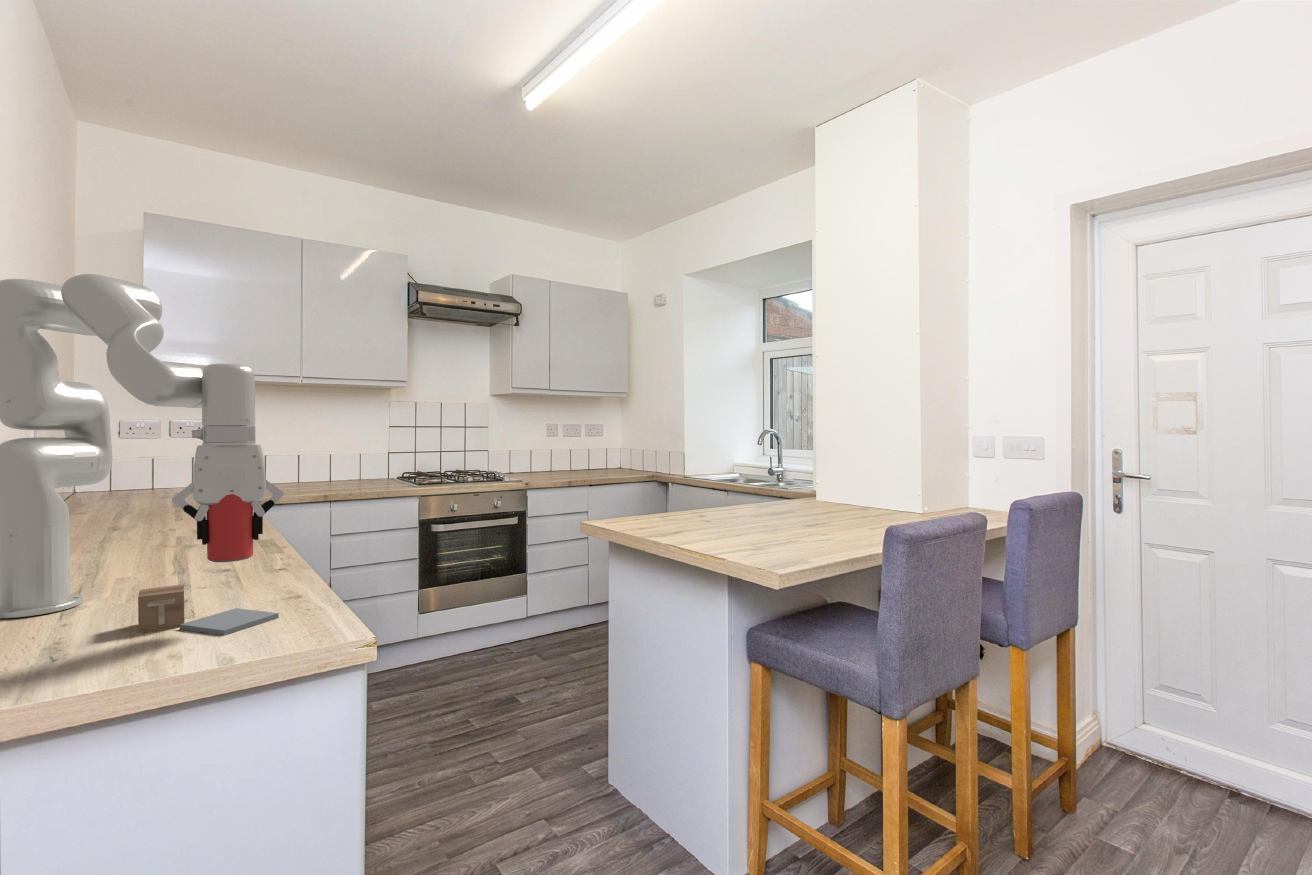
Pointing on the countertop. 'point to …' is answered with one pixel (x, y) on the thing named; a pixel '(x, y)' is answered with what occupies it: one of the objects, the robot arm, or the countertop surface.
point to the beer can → (230, 530)
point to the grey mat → (229, 621)
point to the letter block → (160, 608)
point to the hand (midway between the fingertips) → (230, 540)
